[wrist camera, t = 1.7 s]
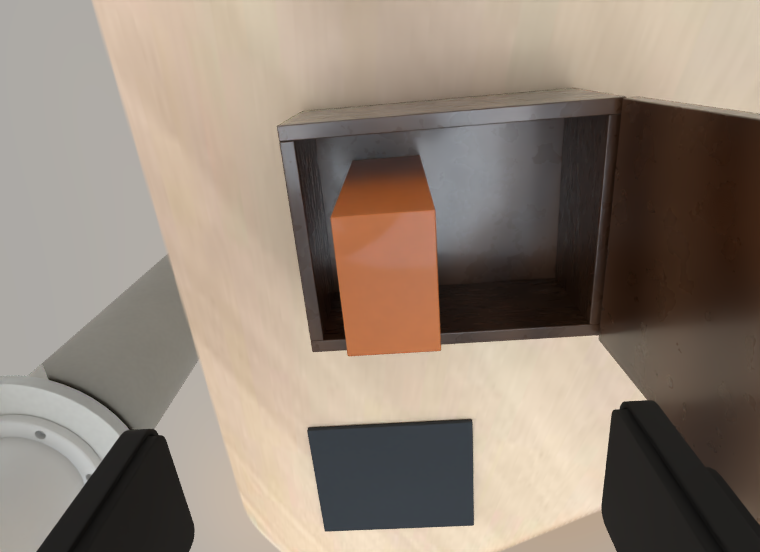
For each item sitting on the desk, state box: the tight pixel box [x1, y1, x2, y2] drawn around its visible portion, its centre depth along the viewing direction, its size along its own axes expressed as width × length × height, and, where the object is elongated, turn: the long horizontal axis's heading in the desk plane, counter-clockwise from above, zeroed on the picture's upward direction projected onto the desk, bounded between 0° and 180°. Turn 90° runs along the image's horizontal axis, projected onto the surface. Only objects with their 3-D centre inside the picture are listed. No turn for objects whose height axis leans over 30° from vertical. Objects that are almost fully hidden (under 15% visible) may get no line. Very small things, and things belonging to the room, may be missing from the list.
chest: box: [277, 88, 626, 352], centre depth 32 cm, size 18×14×8 cm
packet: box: [330, 155, 441, 356], centre depth 29 cm, size 4×7×13 cm, turn 5°
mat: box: [307, 420, 474, 531], centre depth 45 cm, size 14×12×1 cm
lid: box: [599, 97, 760, 525], centre depth 19 cm, size 18×14×1 cm
